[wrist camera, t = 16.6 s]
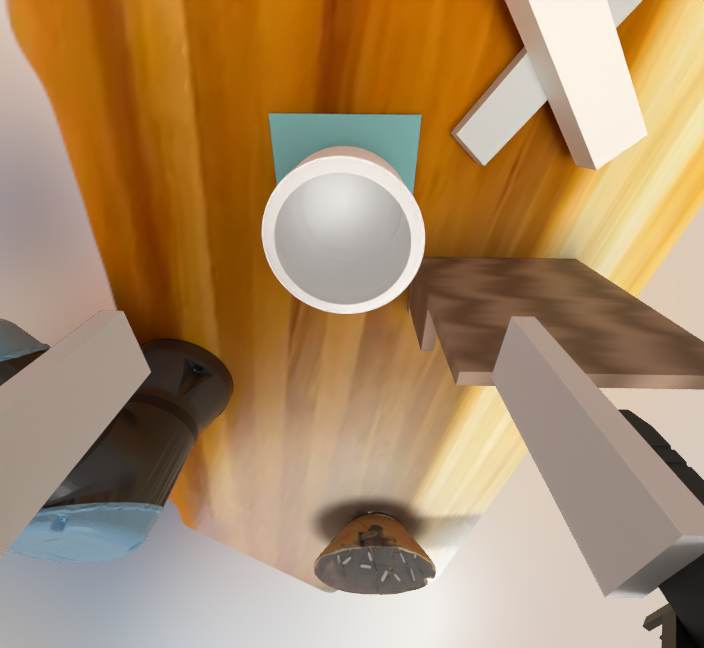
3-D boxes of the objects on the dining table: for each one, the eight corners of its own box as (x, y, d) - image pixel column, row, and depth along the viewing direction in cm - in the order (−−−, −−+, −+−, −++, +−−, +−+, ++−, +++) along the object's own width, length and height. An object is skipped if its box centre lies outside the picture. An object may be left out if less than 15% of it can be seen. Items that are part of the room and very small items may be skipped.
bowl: (312, 493, 66) (305, 548, 58) (431, 491, 65) (441, 546, 56) (325, 547, 80) (321, 597, 71) (423, 546, 79) (431, 597, 70)
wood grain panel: (407, 309, 41) (441, 441, 24) (413, 256, 37) (459, 371, 20) (553, 311, 41) (689, 446, 24) (576, 259, 37) (757, 376, 20)
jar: (419, 174, 31) (460, 212, 19) (369, 261, 36) (374, 336, 24) (323, 115, 29) (295, 114, 16) (283, 217, 34) (239, 276, 21)
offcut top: (621, 132, 28) (647, 134, 25) (575, 165, 29) (596, 170, 27) (538, -111, 21) (564, -142, 18) (483, -51, 22) (499, -72, 20)
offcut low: (474, 162, 32) (484, 166, 30) (448, 133, 31) (456, 134, 28) (661, -39, 24) (696, -57, 22) (637, -90, 23) (672, -116, 20)
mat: (286, 255, 37) (285, 258, 36) (270, 113, 29) (268, 113, 29) (405, 257, 37) (405, 260, 36) (420, 114, 29) (421, 114, 29)
